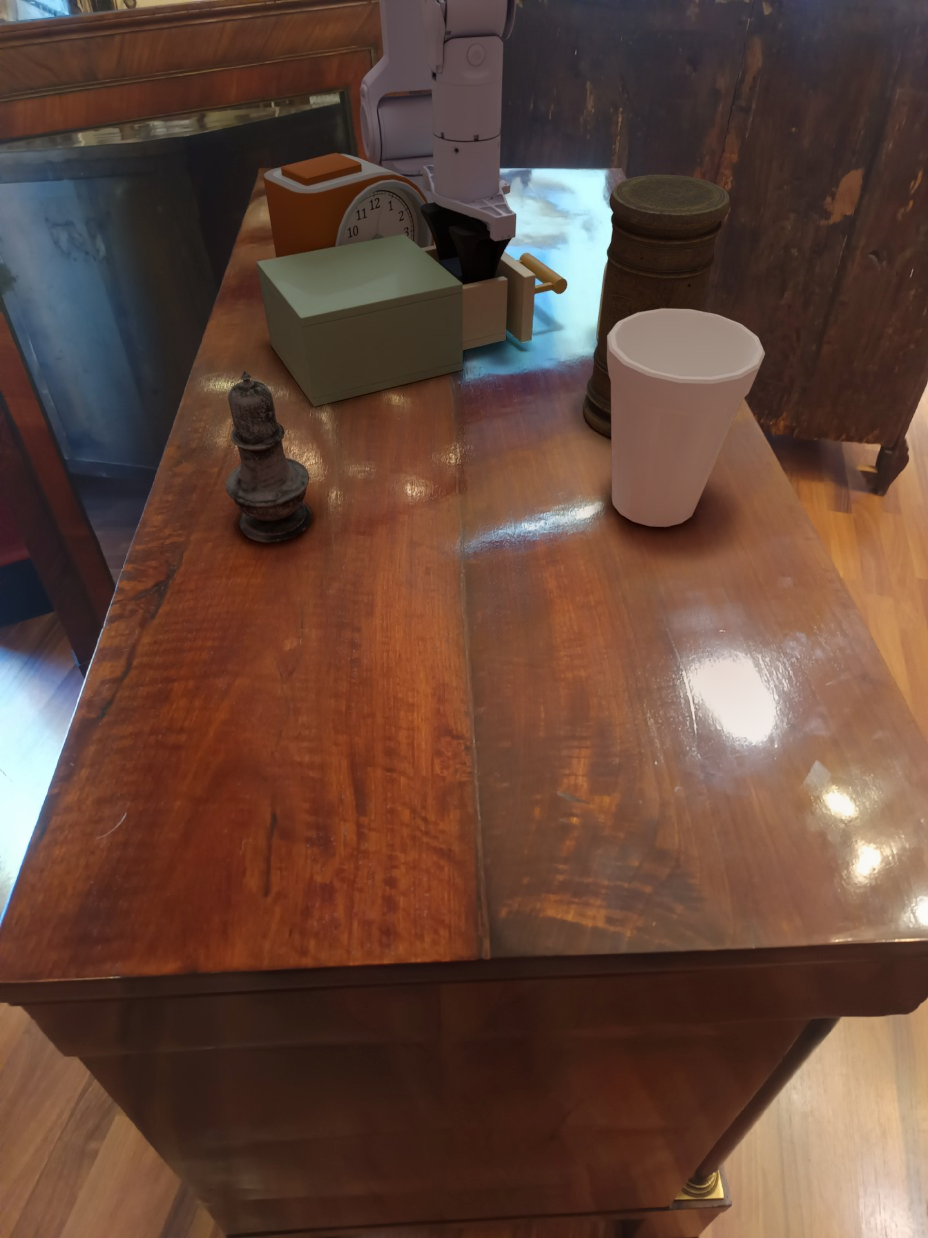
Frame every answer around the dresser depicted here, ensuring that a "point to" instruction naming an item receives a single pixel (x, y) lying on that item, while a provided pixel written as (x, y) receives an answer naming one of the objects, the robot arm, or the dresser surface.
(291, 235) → the alarm clock
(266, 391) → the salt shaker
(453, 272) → the block
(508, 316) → the drawer
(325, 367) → the cabinet
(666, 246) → the container
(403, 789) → the dresser surface
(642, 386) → the cup
